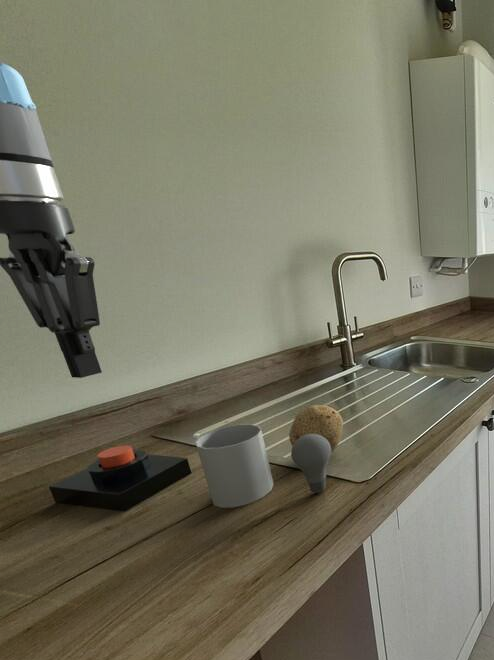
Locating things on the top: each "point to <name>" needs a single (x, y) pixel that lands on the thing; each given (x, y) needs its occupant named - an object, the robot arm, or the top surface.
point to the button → (116, 456)
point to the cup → (235, 465)
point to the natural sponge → (318, 424)
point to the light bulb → (312, 459)
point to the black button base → (121, 482)
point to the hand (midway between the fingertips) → (87, 374)
